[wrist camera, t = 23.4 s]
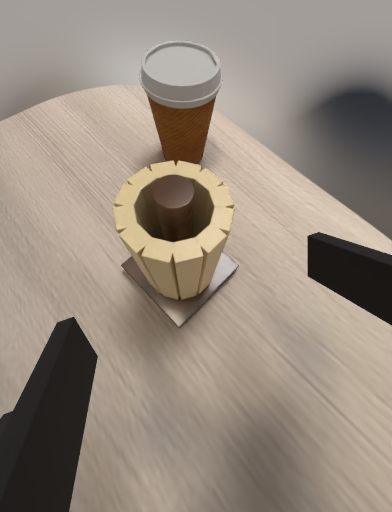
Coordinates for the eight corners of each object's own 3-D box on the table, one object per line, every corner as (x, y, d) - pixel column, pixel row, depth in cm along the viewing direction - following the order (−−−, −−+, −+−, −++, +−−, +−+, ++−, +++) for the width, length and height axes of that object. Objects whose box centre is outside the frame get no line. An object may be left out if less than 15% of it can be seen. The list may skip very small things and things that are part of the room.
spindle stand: (124, 269, 26) (53, 188, 13) (181, 221, 29) (176, 112, 15) (179, 328, 24) (167, 309, 10) (236, 269, 27) (287, 192, 13)
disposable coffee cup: (205, 181, 32) (214, 96, 21) (145, 168, 33) (123, 79, 22) (218, 138, 36) (231, 46, 25) (164, 127, 36) (153, 32, 25)
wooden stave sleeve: (132, 265, 25) (88, 204, 14) (181, 224, 27) (176, 144, 16) (179, 314, 23) (171, 288, 12) (227, 265, 26) (257, 207, 14)
